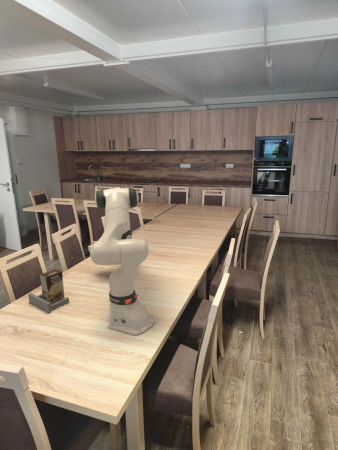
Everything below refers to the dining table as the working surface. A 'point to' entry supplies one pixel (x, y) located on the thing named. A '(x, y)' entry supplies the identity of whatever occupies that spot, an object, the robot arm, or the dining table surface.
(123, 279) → the robot arm
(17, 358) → the dining table surface
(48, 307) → the grey u-shaped bracket
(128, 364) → the dining table surface
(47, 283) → the coffee box
